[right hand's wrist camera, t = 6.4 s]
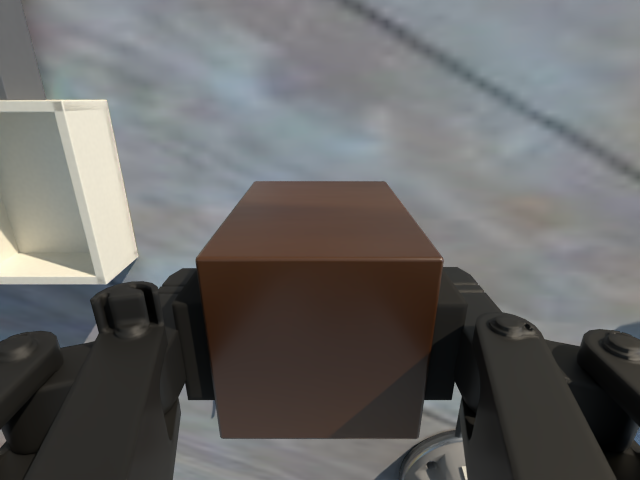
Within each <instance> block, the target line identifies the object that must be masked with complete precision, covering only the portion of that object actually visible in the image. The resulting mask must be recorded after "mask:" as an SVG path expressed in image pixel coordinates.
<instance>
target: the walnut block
mask: <svg viewBox="0 0 640 480" xmlns="http://www.w3.org/2000/svg"><path fill="white" fill-rule="evenodd" d="M443 262H444V260H443V257H442V256H441V255H440V253H439V252H438V251H437V249H436V248H435V247H434V245H433V244H432V243H431V241H430V240H429V239H428V237H427V236H426V235H425V233H424V232H423V231H422V229H421V228H420V227H419V226H418V224H417V223H416V222H415V220H414V219H413V218H412V216H411V215H410V214H409V212H408V211H407V210H406V208H405V207H404V206H403V204H402V203H401V202H400V200H399V199H398V198H397V196H396V195H395V194H394V192H393V191H392V190H391V188H390V187H389V186H388V184H387V183H386V182H384V181H256V182H254V183H253V184H252V186H251V187H250V188H249V190H248V191H247V192H246V193H245V195H244V196H243V197H242V199H241V200H240V201H239V203H238V204H237V205H236V206H235V208H234V209H233V210H232V212H231V213H230V214H229V216H228V217H227V218H226V220H225V221H224V222H223V223H222V225H221V226H220V227H219V229H218V230H217V231H216V233H215V234H214V235H213V236H212V238H211V239H210V240H209V242H208V243H207V244H206V246H205V247H204V248H203V249H202V251H201V252H200V253H199V255H198V256H197V257H196V267H197V274H198V282H199V289H200V296H201V303H202V310H203V317H204V324H205V332H206V339H207V346H208V353H209V360H210V367H211V374H212V381H213V389H214V396H215V403H216V410H217V417H218V424H219V431H220V437H221V438H223V439H417V438H418V437H419V432H420V425H421V418H422V411H423V404H424V397H425V390H426V383H427V375H428V368H429V361H430V354H431V347H432V340H433V333H434V326H435V319H436V312H437V304H438V297H439V290H440V283H441V276H442V269H443Z"/></svg>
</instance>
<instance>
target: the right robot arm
mask: <svg viewBox="0 0 640 480" xmlns="http://www.w3.org/2000/svg"><path fill="white" fill-rule="evenodd" d="M90 301H91V305H92V309H93V312H94V316H95V320H96V324H97V327H98V331H99V334H98V336H97V338H96V340H95V341H94V342H89V343H84V344H79V345H74V346H69V347H63V348H60V346H59V343H58V340H57V337H56V336H55V335H54V334H53V333H51V332H46V331H35V332H25V333H20V334H17V335H13V336H11V337H9V338H7V339H5V340H3V341H0V429H1V430H2V432H3V434H4V436H5V439H6V442H5V443H4V444H3V446H2V447H1V448H0V480H173V473H174V465H175V457H176V449H177V441H178V433H179V425H180V416H181V410H180V404H179V399H178V397H179V394H180V392H181V390H182V388H183V386H184V384H186V390H187V396H188V400H215V396H214V389H213V381H212V374H211V367H210V360H209V353H208V346H207V339H206V332H205V324H204V317H203V310H202V303H201V296H200V289H199V282H198V274H197V268H182V269H181V270H179V271H177V272H176V273H174V274H172V275H170V276H169V277H168V279H167V280H166V281H165V282H164V283H163V285H162V287H160V288H159V289H158V287H157V286H156V285H154V284H153V283H149V282H144V281H138V282H127V283H122V284H118V285H115V286H112V287H109V288H106V289H104V290H103V291H101V292H99V293H97V294H96V295H95V296H94V297H93V298H92V299H91V300H90ZM454 383H456V385H457V387H458V389H459V391H460V393H461V395H462V399H461V404H460V409H459V415H458V420H457V425H456V430H453V431H448V432H444V433H440V434H437V435H435V436H432V437H430V438H428V439H426V440H424V441H423V442H421V443H420V444H418V445H417V446H416V447H414V448H413V449H412V450H411V451H410V452H409V453H408V455H407V456H406V457H405V459H404V460H403V463H402V465H401V468H400V474H399V478H400V480H640V446H639V445H638V444H637V443H636V441H635V440H634V438H635V436H636V433H637V431H638V429H639V427H640V340H639V339H637V338H635V337H633V336H631V335H629V334H626V333H623V332H622V333H620V332H619V331H614V330H603V329H597V330H589V331H588V332H587V333H585V334H584V336H583V339H582V342H581V345H580V346H575V345H570V344H564V343H559V342H554V341H549V340H545V339H544V338H543V336H542V334H541V332H540V331H539V330H538V329H537V327H536V326H535V325H533V324H532V323H530V322H529V321H527V320H525V319H523V318H520V317H518V316H515V315H512V314H508V313H503V312H501V310H500V309H499V308H498V307H497V306H496V304H495V303H494V302H493V301H492V300H491V299H490V297H489V296H488V295H487V294H486V293H484V290H483V289H482V288H481V287H480V286H479V285H478V283H477V282H476V281H475V280H474V279H473V277H472V276H471V275H470V274H468V273H466V272H465V271H463V270H461V269H460V268H458V267H443V269H442V276H441V283H440V290H439V297H438V304H437V312H436V319H435V326H434V333H433V340H432V347H431V354H430V361H429V368H428V375H427V383H426V390H425V397H424V400H452V394H453V388H454Z"/></svg>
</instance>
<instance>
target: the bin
mask: <svg viewBox="0 0 640 480" xmlns="http://www.w3.org/2000/svg"><path fill="white" fill-rule="evenodd" d="M137 257H138V253H137V248H136V243H135V238H134V233H133V228H132V223H131V218H130V213H129V208H128V203H127V198H126V193H125V188H124V183H123V178H122V174H121V169H120V164H119V159H118V154H117V149H116V144H115V139H114V134H113V129H112V124H111V119H110V114H109V109H108V104H107V100H46V96H45V92H44V88H43V84H42V80H41V76H40V72H39V69H38V65H37V61H36V57H35V53H34V49H33V45H32V41H31V38H30V34H29V30H28V26H27V22H26V18H25V14H24V10H23V7H22V3H21V0H0V284H108V283H109V282H110V281H111V280H112V279H113V278H115V277H116V276H117V275H118V274H119V273H120V272H121V271H123V270H124V269H125V268H126V267H127V266H128V265H129V264H131V263H132V262H133V261H134V260H135V259H136V258H137Z"/></svg>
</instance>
